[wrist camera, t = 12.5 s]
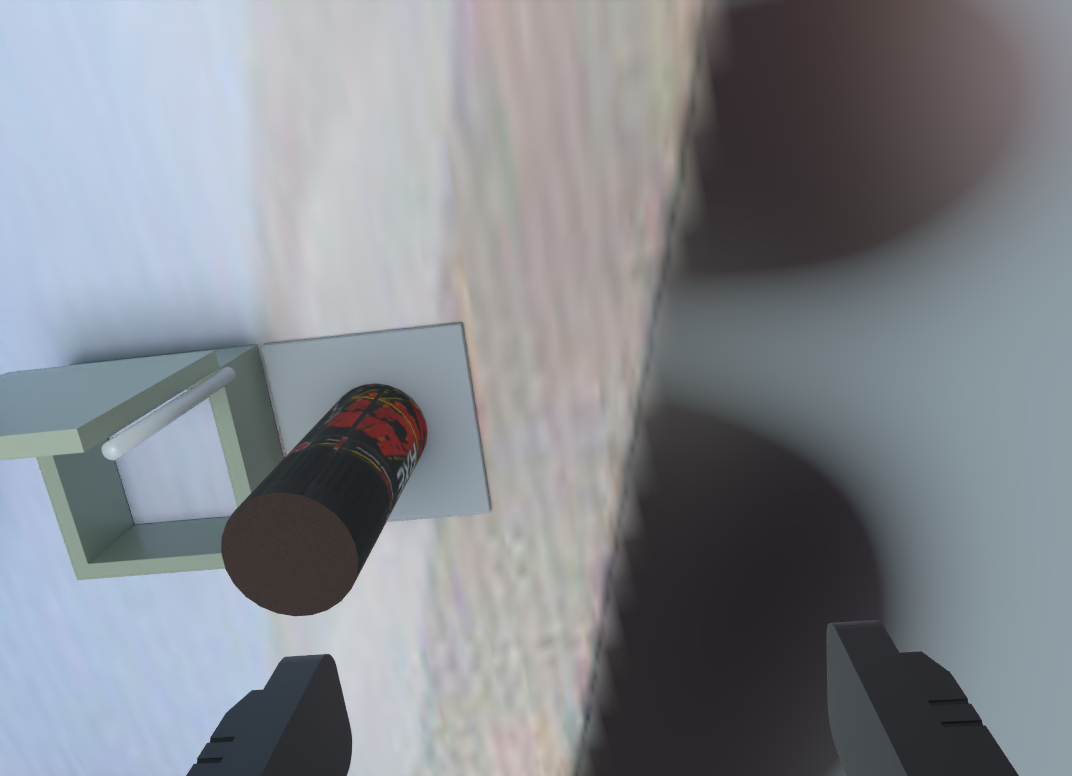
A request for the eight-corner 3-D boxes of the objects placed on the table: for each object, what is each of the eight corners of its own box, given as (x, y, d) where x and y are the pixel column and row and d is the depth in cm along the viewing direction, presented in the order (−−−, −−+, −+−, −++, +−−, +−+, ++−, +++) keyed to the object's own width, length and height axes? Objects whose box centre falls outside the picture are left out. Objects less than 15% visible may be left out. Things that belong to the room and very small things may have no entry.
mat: (264, 343, 48) (261, 346, 47) (462, 322, 46) (460, 324, 46) (306, 524, 51) (303, 528, 50) (490, 508, 50) (489, 513, 49)
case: (65, 349, 49) (-199, 456, 32) (265, 326, 47) (95, 426, 31) (123, 539, 52) (-86, 720, 36) (311, 523, 51) (180, 704, 35)
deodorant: (439, 464, 48) (376, 602, 34) (348, 483, 49) (249, 626, 35) (411, 373, 47) (332, 479, 33) (317, 395, 48) (200, 507, 33)
